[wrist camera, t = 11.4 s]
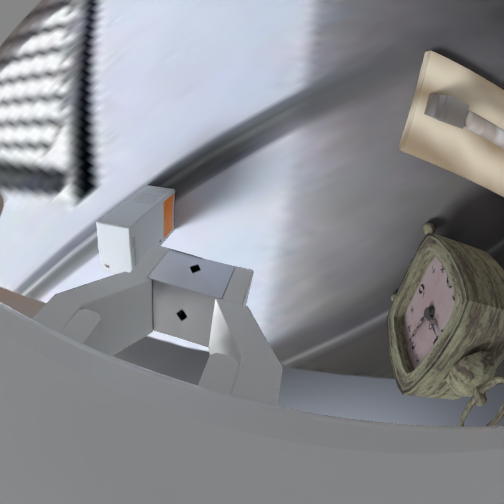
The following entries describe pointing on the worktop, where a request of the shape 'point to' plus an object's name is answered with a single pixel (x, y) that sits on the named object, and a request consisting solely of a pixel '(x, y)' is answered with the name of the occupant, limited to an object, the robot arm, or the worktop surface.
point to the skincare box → (135, 228)
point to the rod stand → (457, 122)
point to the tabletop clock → (448, 323)
